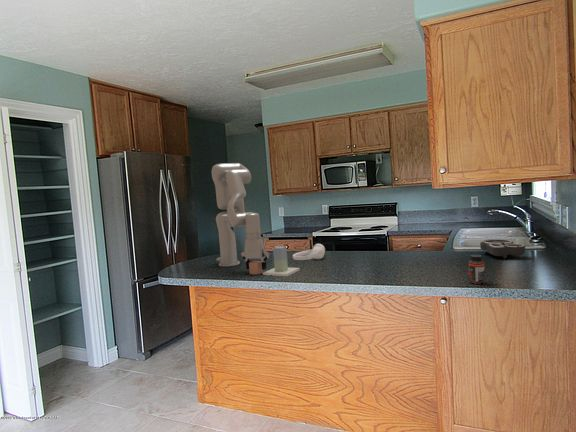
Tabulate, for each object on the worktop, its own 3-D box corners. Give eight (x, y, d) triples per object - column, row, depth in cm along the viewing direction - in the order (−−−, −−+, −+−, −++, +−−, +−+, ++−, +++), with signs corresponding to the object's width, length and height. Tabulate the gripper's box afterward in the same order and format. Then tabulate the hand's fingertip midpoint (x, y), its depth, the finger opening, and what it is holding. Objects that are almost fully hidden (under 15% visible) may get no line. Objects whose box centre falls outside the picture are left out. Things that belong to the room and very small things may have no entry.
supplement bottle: (466, 281, 168) (465, 254, 167) (480, 280, 168) (479, 253, 168) (473, 285, 162) (472, 257, 161) (488, 284, 163) (487, 256, 162)
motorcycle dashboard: (475, 252, 228) (475, 239, 228) (506, 250, 226) (506, 238, 226) (494, 261, 202) (494, 247, 202) (529, 259, 200) (528, 245, 200)
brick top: (249, 274, 212) (248, 262, 211) (255, 272, 216) (254, 260, 216) (257, 274, 209) (256, 263, 209) (263, 272, 214) (262, 261, 213)
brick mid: (273, 259, 208) (272, 248, 208) (278, 257, 213) (277, 246, 212) (282, 260, 206) (281, 248, 205) (287, 258, 210) (286, 246, 210)
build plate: (262, 275, 207) (261, 261, 207) (276, 269, 219) (275, 255, 219) (286, 276, 200) (285, 262, 200) (299, 270, 212) (298, 256, 212)
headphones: (326, 254, 254) (295, 258, 257) (324, 241, 253) (293, 246, 256) (325, 260, 234) (291, 264, 237) (322, 246, 234) (289, 251, 237)
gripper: (236, 237, 212) (238, 270, 213) (263, 237, 204) (266, 271, 205) (244, 235, 219) (247, 267, 220) (271, 235, 210) (274, 268, 211)
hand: (256, 269), depth 212 cm, fingers open, 9 cm apart
